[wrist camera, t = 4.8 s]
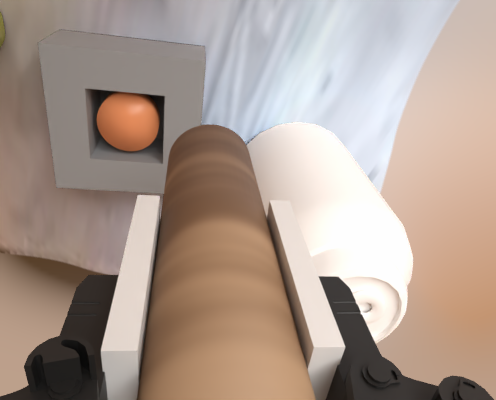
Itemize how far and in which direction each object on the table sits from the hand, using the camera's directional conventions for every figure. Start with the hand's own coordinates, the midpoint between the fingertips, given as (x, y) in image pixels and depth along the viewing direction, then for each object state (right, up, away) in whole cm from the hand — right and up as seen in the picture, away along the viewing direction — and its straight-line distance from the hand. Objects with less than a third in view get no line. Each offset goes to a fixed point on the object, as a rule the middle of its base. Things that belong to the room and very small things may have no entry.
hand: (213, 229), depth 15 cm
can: (+6, +4, +28) cm, 29 cm away
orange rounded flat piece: (-9, +8, +20) cm, 24 cm away
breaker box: (-9, +10, +23) cm, 26 cm away
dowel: (-1, +3, +5) cm, 6 cm away
